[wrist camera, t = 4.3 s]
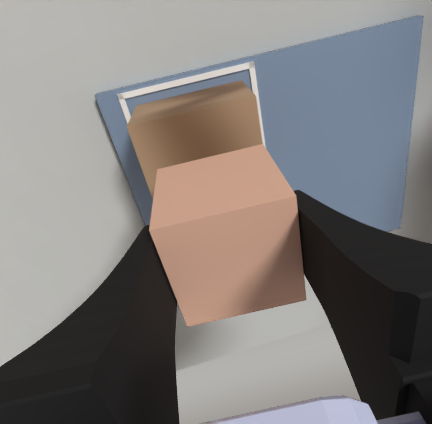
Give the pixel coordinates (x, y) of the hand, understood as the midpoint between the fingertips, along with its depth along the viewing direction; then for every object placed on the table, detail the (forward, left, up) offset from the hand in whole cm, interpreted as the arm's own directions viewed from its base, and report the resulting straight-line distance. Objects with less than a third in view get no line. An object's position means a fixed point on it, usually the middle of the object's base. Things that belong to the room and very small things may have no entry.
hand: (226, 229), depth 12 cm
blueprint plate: (-4, +3, -10) cm, 11 cm away
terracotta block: (0, 0, -3) cm, 3 cm away
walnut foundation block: (0, 0, -9) cm, 9 cm away
